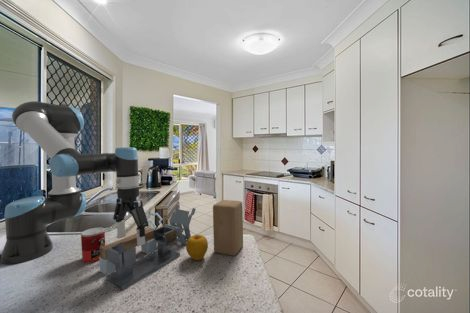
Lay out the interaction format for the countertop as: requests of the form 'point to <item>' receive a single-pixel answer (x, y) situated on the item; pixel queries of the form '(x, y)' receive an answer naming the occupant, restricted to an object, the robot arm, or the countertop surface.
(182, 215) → the bracket
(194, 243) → the apple
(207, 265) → the countertop surface
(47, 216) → the robot arm
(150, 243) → the rest block
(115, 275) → the bracket
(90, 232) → the canned food
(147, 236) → the rail
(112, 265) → the rest block
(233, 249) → the wooden block
